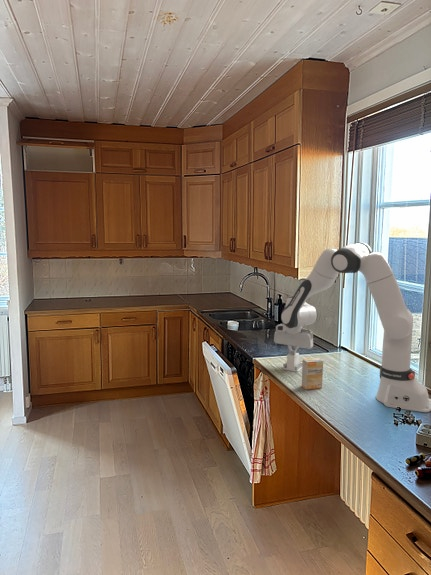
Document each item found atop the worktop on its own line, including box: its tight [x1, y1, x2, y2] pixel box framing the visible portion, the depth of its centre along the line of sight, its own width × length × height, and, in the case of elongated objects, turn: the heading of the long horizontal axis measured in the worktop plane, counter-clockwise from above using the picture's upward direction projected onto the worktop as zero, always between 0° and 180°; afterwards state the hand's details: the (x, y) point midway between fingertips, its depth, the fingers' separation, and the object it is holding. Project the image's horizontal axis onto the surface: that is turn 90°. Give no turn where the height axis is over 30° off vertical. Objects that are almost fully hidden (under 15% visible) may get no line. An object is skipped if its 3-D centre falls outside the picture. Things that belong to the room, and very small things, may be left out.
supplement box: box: [301, 357, 324, 390], centre depth 203 cm, size 8×5×13 cm, turn 105°
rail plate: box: [282, 361, 302, 373], centre depth 229 cm, size 8×7×3 cm
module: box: [286, 352, 300, 370], centre depth 229 cm, size 4×6×7 cm, turn 146°
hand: (292, 354), depth 228 cm, fingers closed, pressing on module
